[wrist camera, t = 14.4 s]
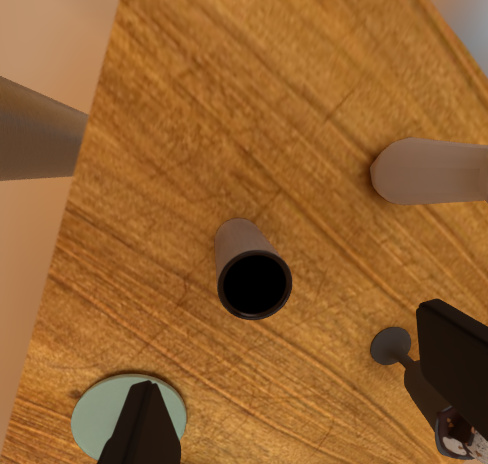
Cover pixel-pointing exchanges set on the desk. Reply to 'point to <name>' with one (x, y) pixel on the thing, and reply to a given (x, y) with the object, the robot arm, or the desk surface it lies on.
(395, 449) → the desk surface
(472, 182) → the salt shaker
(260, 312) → the grey tube
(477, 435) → the sundae
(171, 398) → the lid
